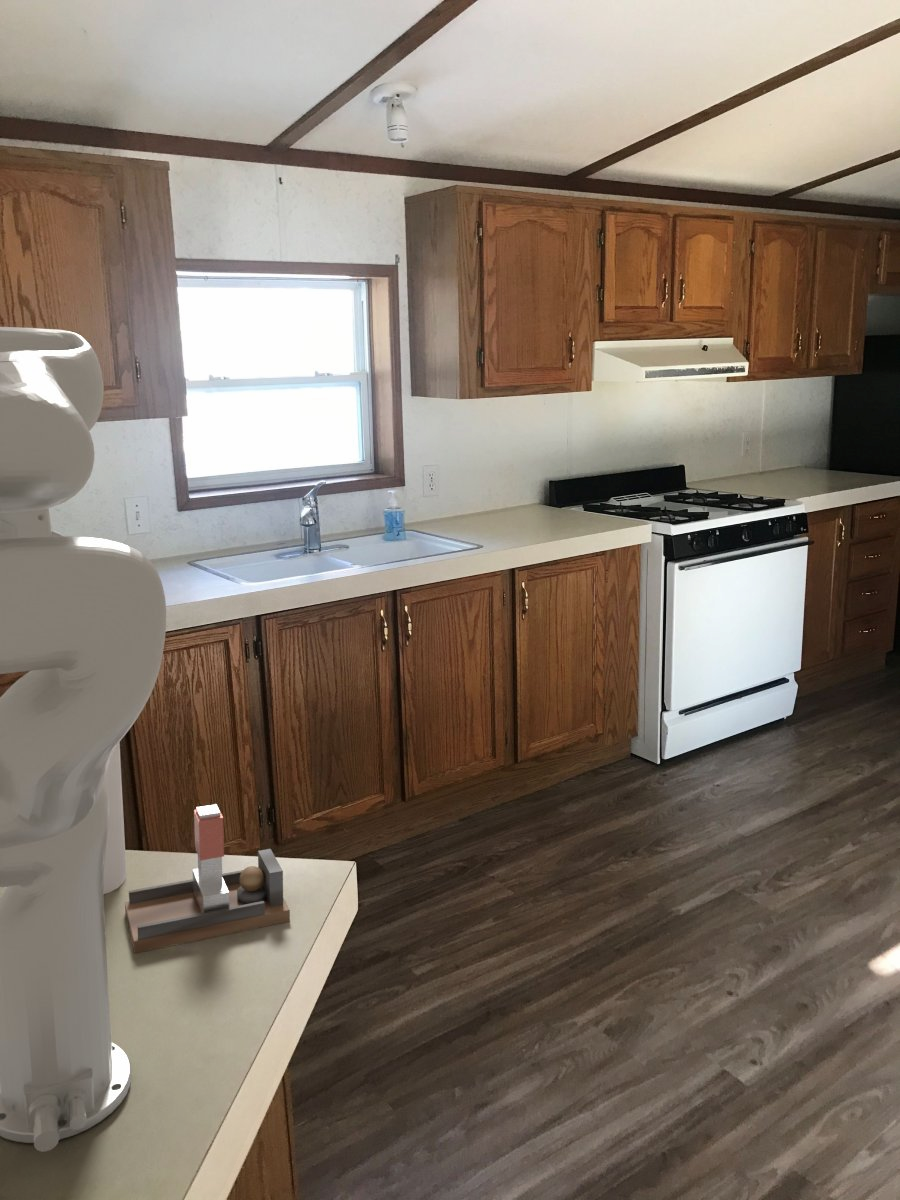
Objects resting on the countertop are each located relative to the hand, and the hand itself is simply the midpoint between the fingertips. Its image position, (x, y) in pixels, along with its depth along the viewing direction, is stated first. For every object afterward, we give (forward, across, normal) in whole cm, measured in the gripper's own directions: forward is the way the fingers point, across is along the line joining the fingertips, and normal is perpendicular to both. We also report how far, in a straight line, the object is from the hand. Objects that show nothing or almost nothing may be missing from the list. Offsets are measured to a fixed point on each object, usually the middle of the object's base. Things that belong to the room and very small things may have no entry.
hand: (4, 630), depth 99 cm
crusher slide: (+36, +20, +3) cm, 42 cm away
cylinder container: (+38, +7, +17) cm, 43 cm away
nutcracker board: (+38, +20, +3) cm, 43 cm away
